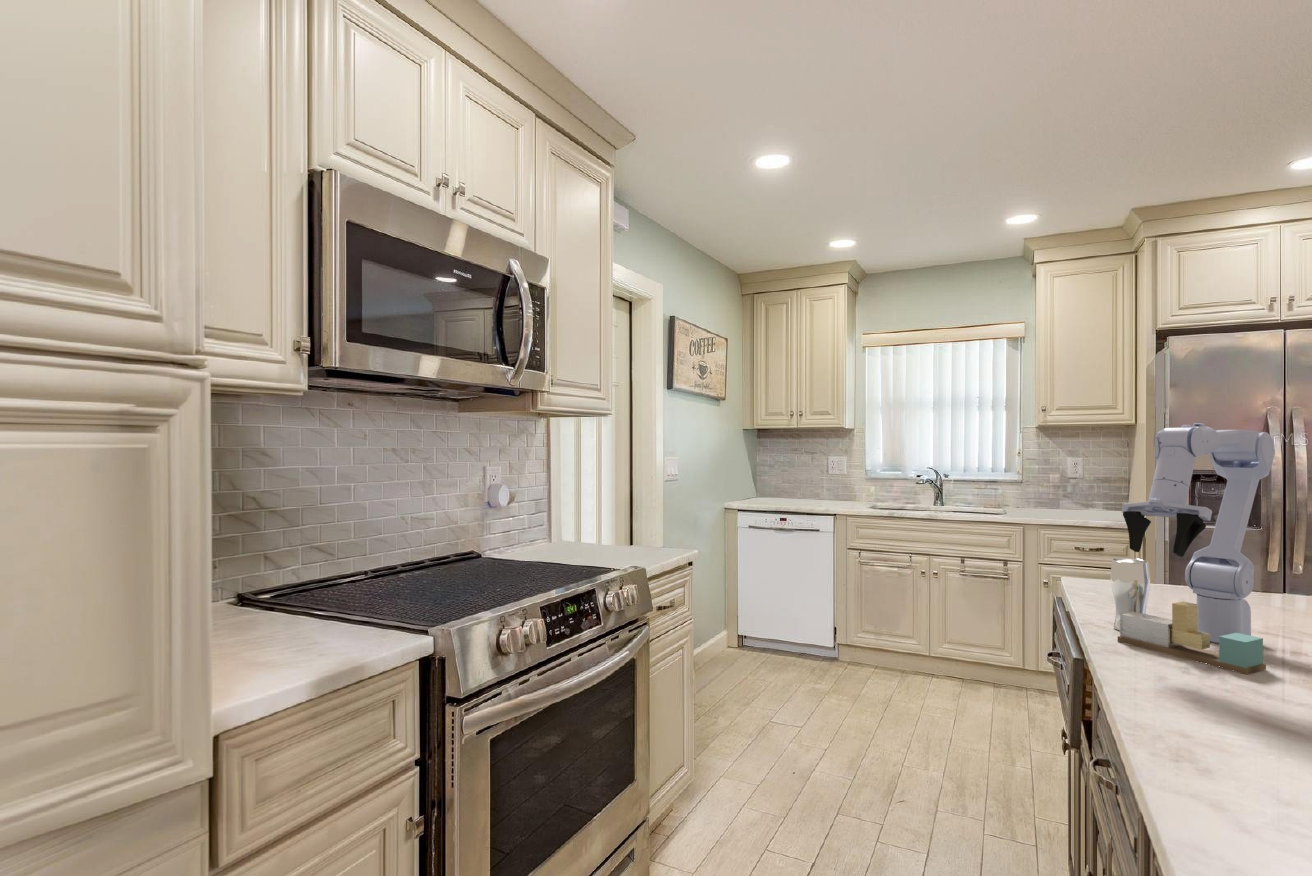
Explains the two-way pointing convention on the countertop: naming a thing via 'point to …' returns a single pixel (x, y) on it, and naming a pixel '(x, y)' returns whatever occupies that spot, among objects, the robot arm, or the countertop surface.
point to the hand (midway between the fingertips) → (1155, 552)
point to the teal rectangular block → (1241, 650)
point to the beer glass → (1129, 586)
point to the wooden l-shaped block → (1187, 626)
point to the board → (1193, 655)
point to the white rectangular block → (1146, 628)
